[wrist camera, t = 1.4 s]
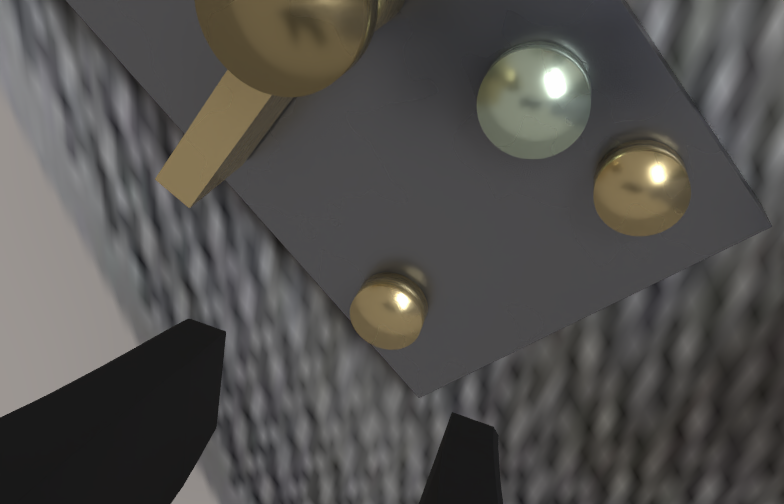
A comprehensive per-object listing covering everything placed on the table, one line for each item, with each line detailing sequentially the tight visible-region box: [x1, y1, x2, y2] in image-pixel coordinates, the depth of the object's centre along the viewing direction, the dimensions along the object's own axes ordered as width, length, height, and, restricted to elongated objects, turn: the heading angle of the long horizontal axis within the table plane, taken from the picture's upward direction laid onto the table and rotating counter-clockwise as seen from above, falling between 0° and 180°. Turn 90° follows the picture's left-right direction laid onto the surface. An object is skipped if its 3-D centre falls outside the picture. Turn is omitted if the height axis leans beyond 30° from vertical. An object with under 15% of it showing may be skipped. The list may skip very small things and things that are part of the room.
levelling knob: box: [155, 0, 405, 208], centre depth 14 cm, size 7×3×4 cm, turn 141°
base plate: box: [66, 0, 772, 398], centre depth 16 cm, size 16×10×3 cm, turn 41°
